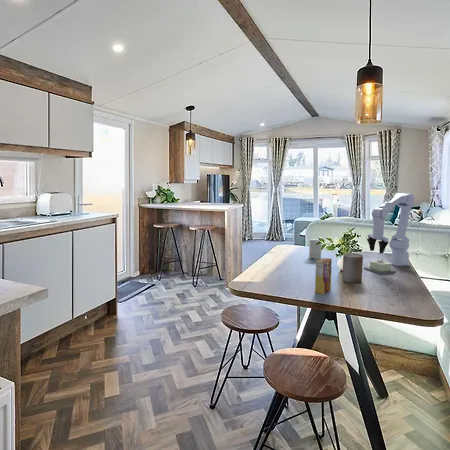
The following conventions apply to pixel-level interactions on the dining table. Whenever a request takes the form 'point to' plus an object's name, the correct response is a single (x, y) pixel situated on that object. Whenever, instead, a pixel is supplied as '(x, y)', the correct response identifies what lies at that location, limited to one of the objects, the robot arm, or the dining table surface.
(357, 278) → the pillar candle
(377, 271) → the post stand
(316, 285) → the candy box
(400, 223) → the robot arm
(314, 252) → the supplement box
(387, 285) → the dining table surface
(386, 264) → the collar
